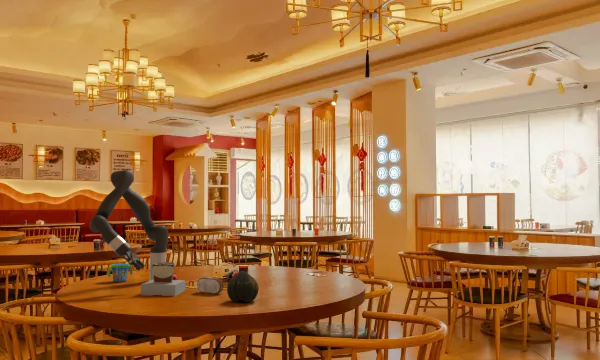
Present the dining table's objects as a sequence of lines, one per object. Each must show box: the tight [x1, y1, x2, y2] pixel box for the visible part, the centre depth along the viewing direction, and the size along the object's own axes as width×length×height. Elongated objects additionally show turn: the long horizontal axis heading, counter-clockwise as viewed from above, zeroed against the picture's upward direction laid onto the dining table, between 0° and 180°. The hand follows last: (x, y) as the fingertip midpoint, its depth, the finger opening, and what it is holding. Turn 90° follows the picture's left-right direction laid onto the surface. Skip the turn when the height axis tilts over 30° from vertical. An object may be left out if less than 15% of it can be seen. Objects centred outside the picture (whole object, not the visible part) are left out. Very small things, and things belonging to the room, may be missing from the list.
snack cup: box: [107, 263, 134, 283], centre depth 305 cm, size 16×10×10 cm
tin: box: [196, 276, 224, 295], centre depth 266 cm, size 15×3×8 cm, turn 65°
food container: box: [151, 261, 176, 283], centre depth 268 cm, size 12×6×10 cm, turn 89°
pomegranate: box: [172, 271, 179, 280], centre depth 287 cm, size 10×10×9 cm
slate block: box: [140, 279, 186, 297], centre depth 266 cm, size 16×18×6 cm
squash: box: [226, 270, 260, 303], centre depth 245 cm, size 14×15×15 cm
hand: (142, 268), depth 266 cm, fingers open, 8 cm apart
